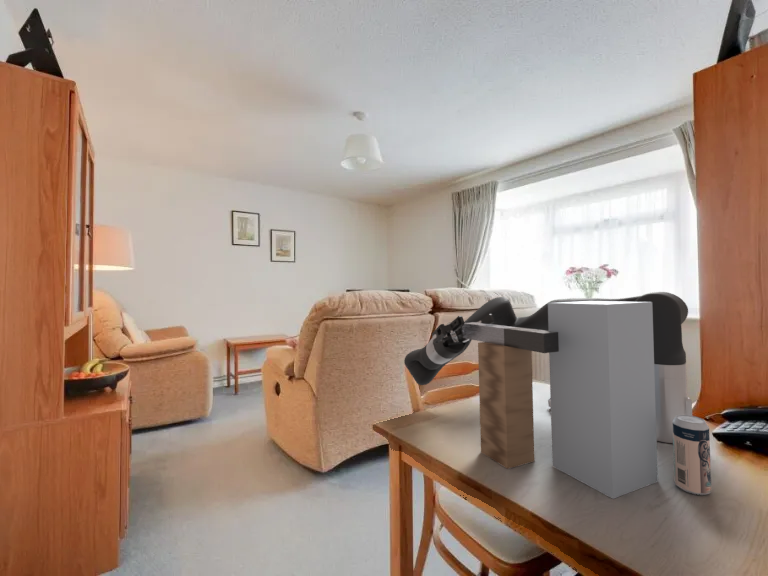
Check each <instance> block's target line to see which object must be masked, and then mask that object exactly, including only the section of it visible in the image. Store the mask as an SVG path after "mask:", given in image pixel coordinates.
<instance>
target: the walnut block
mask: <svg viewBox="0 0 768 576" xmlns="http://www.w3.org/2000/svg"><path fill="white" fill-rule="evenodd" d="M532 352H533V351H529V350H524V349H519V348H514V347H508V346H503V345H498V344H492V343H487V342H482V341H479V342H478V343H477V354H478V355H477V356H478V357H477V358H478V387H479V389H478V391H479V392H478V395H479V396H478V397H479V427H480V429H479V430H480V453H481V454H483V455H485V456H486V457H488V458H489V459H492V460H493V461H494V462H496V463H498V464H499V465H500V466H502V467H504V468H505V469H507V470H509V469H513V468H516V467H520V466H522V465H525V464H530V463H533V462H535V461H536V460H535V459H536V458H535V430H534V429H535V425H534V424H535V423H534V399H533V397H534V396H533V393H534V392H533V359H532V358H533V357H532V355H533V353H532Z"/></svg>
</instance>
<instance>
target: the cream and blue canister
mask: <svg viewBox="0 0 768 576" xmlns="http://www.w3.org/2000/svg"><path fill="white" fill-rule="evenodd" d="M672 422H673V443H672V445H673V473H674V474H673V476H674V484H675V485H676V486H677V487H678V488H680V489H681V490H682V491H684V492H686V493H689V494H691V493H692V494H693V495H696V494H697V495H698V496H705V495H709V494H711V493H712V477H711V475H712V473H711V472H712V471H711V446H710V445H711V443H710V442H711V441H710V440H711V439H710V427H709V425H708V424H707V422H706V420H705V419H703V418H701V417H698V416H695V415H692V416H689V415H677V416H675V418H674V419H673V421H672ZM699 494H700V495H699ZM697 495H696V496H697Z"/></svg>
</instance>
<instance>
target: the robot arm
mask: <svg viewBox="0 0 768 576" xmlns="http://www.w3.org/2000/svg"><path fill="white" fill-rule="evenodd" d="M577 301H627V302H652V309H653V342H654V375H655V408H656V440H657V442H662V443H667V444H673V422H672V421H673V419H674V418H675V416H677V415H689V416H693V401H692V399H691V397H689V396H688V385H687V384H688V382H687V381H688V379H687V353H686V351H685V349H684V346H683V333H682V325H683V324H684V322H685V321H686V319H687V318H688V315H689V307H688V305H687V303H686V302H685V301H684V300H683V299H682V298H681V297H680V296H677V295H676V294H674V293H670V292H668V291H667V292H666V291H654V292H649V293H644V294H642V295H637V296H630V297H623V298H598V297H597V298H596V297H575V298H574V297H570V298H559V299H554V300H550V301H549V302H547V303H546V304H544V305H542V306H541V307H540V308H538V310H537V311H535V312H534V313H532V314H530V315H528V316H523V317H522V316H516V313H515V311H514V308H513V306H512V304H511V301H510V299H509V298H508V297H504V296H498V297H495V298H492V299H490V300H488V301H486V302H485V303H484V304H482V305H481V306H480V307H479V308H478V309H477V310H475V312H473V313H472V314H471V315H470V316H469V317H468V318H467V319H466V320H464V318H463V316H462V315H457V317H456V318H454V319H453V321H451V322H448V323H447V324H444V323H440V324H439V325H438V327H437V328H435V330H434V331H433V332H432V333H431V336H432V338H431V339H430V340H429V342H428V343H427V344H425V346H423V347H421V348H419V349H414V350H412V351H409V353H407V354H406V356H405V357H404V361H403V362H404V365H405V367H406V369H407V370H408V371H409V374H410V375H411V377H412V379H413V380H414V381H415V382H416V384H418V386H425V385H428V384H430V383H431V382H432V381H433V380H434V379H435V378H436V376H437V374H438V373H439V372H440V371H441V370H442V369H444V367H445V366H446V365H447V364H449V363H450V362H451V361H453V360H454V359H456V358H457V357H459V356H460V355H461V354H463V353H464V352H465V351H466V350H467V349H468V347H469V346H470V344H471V342H472V340H471V339H466V338H463V334H462V332H461V329H460V328H461V327H462V326H463V325H464V323H472V322H476V323H485V324H493V325H502V326H510V327H519V328H528V329H536V330H545V331H549V327H548V303H557V302H577Z"/></svg>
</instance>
